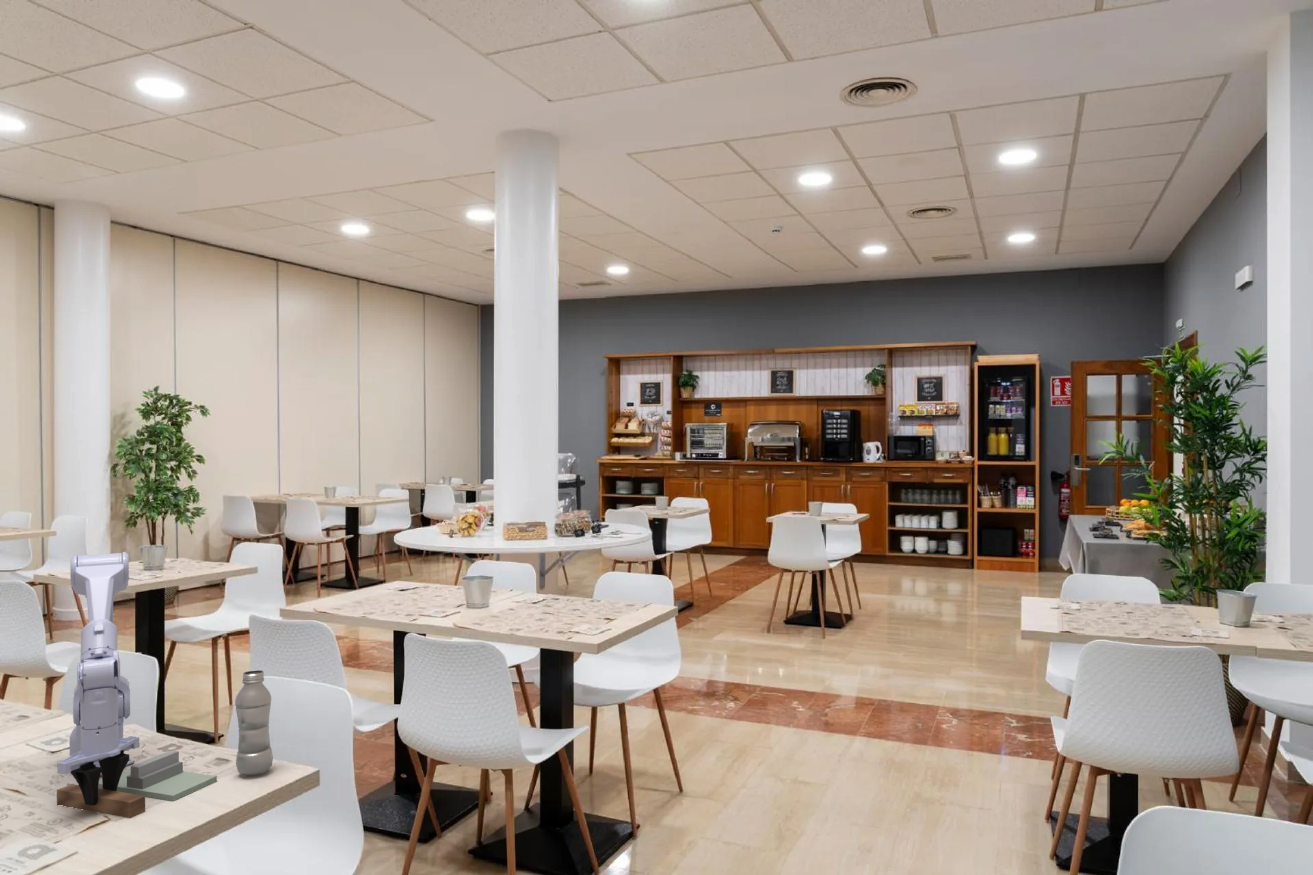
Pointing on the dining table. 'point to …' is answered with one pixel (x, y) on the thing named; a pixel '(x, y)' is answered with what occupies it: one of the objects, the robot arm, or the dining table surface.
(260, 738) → the plastic bottle
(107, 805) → the walnut beam
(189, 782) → the balance stand
